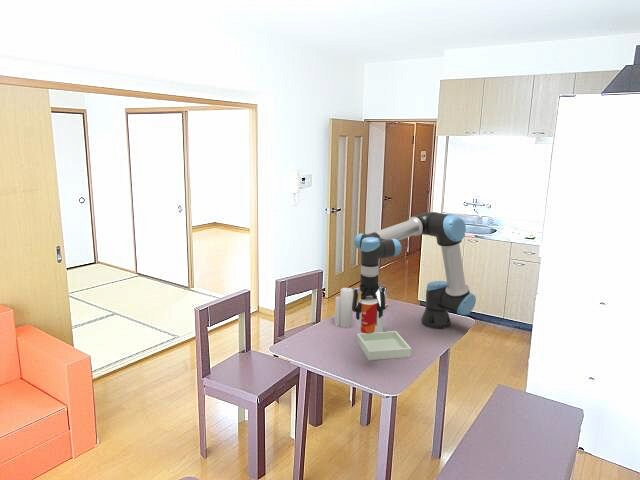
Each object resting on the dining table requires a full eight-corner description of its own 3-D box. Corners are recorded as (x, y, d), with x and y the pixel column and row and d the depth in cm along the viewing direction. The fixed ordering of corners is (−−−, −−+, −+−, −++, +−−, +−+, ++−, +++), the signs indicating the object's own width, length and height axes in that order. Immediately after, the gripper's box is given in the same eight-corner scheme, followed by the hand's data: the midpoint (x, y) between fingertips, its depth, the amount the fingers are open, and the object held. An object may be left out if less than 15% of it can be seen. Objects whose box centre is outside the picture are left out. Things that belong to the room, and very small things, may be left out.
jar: (363, 329, 245) (363, 307, 243) (376, 327, 248) (377, 305, 246) (371, 336, 237) (372, 313, 235) (385, 333, 240) (386, 311, 238)
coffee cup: (356, 327, 208) (357, 294, 204) (375, 326, 208) (375, 294, 205) (359, 335, 200) (360, 301, 196) (379, 334, 200) (380, 301, 197)
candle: (354, 325, 251) (355, 289, 246) (346, 329, 245) (347, 292, 241) (338, 319, 258) (339, 284, 254) (329, 323, 253) (330, 287, 248)
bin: (395, 338, 235) (396, 330, 234) (410, 356, 216) (411, 348, 215) (356, 341, 231) (357, 333, 230) (368, 360, 212) (369, 351, 211)
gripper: (389, 270, 204) (387, 320, 209) (344, 273, 200) (343, 323, 205) (395, 275, 197) (392, 327, 202) (348, 278, 193) (347, 330, 198)
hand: (368, 325), depth 203 cm, fingers closed on coffee cup, 7 cm apart
